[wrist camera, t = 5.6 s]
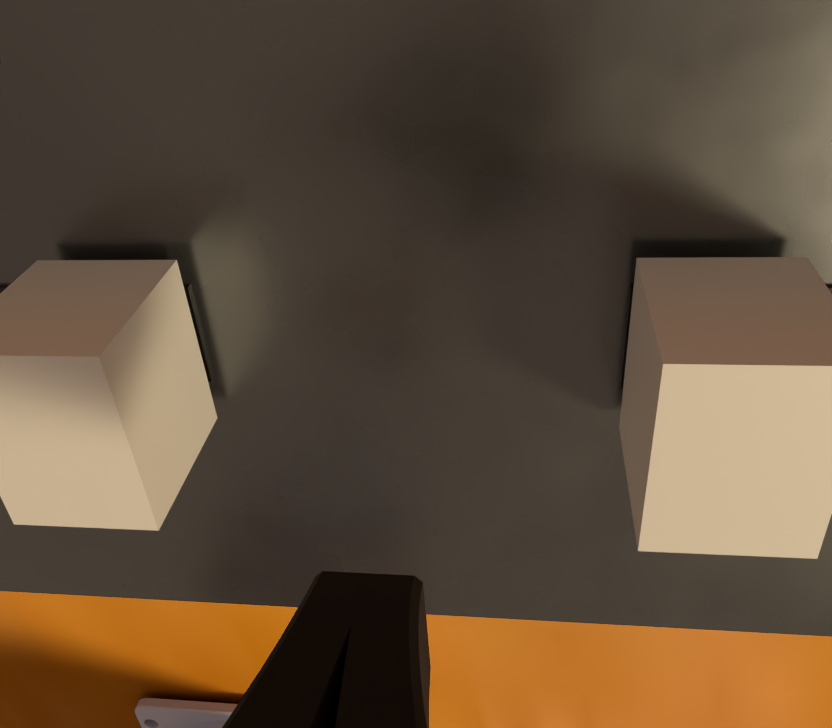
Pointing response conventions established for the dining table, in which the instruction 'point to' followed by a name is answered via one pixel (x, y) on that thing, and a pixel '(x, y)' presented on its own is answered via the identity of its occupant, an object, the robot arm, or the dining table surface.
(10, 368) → the block
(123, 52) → the breaker panel
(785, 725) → the dining table surface
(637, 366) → the beige block
